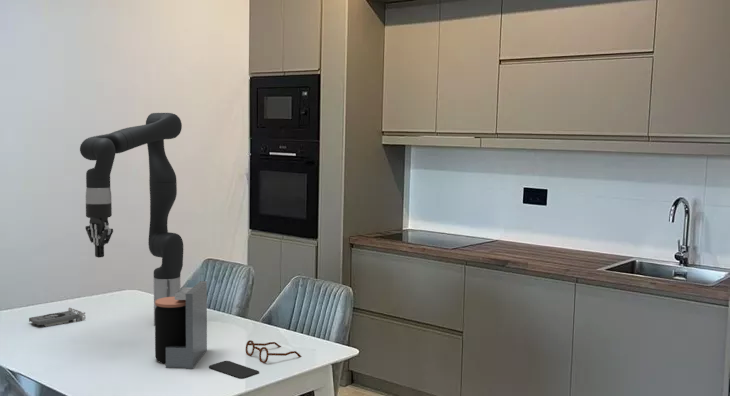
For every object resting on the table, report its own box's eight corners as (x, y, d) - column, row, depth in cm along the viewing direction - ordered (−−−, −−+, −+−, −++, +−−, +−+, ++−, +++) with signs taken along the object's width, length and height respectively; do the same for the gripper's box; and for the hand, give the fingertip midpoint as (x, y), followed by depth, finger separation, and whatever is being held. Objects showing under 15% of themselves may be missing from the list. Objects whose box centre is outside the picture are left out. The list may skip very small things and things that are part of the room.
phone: (241, 378, 190) (206, 366, 199) (241, 381, 190) (206, 368, 199) (261, 371, 196) (226, 360, 205) (261, 374, 196) (226, 362, 205)
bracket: (165, 368, 198) (164, 293, 197) (181, 349, 216) (181, 280, 215) (192, 368, 198) (192, 293, 197) (206, 349, 216) (206, 281, 215)
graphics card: (71, 306, 258) (85, 311, 249) (71, 316, 258) (86, 321, 250) (24, 314, 245) (38, 320, 237) (24, 325, 246) (38, 330, 237)
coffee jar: (199, 356, 209) (199, 298, 208) (174, 366, 200) (174, 306, 198) (172, 351, 214) (172, 294, 213) (147, 361, 205) (146, 301, 203)
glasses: (244, 355, 213) (244, 339, 213) (280, 347, 222) (280, 332, 221) (265, 366, 203) (265, 349, 203) (302, 358, 211) (303, 342, 211)
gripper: (121, 202, 212) (121, 258, 214) (98, 200, 221) (99, 253, 222) (98, 204, 207) (99, 261, 208) (76, 201, 215) (77, 256, 216)
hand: (99, 256), depth 215 cm, fingers closed
